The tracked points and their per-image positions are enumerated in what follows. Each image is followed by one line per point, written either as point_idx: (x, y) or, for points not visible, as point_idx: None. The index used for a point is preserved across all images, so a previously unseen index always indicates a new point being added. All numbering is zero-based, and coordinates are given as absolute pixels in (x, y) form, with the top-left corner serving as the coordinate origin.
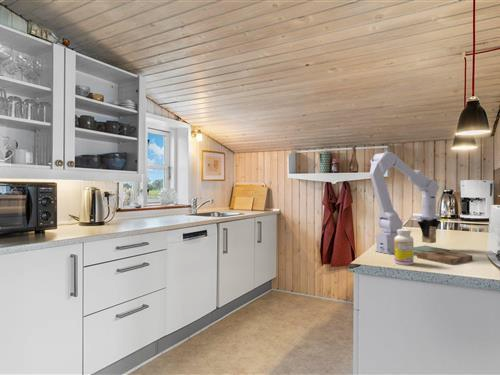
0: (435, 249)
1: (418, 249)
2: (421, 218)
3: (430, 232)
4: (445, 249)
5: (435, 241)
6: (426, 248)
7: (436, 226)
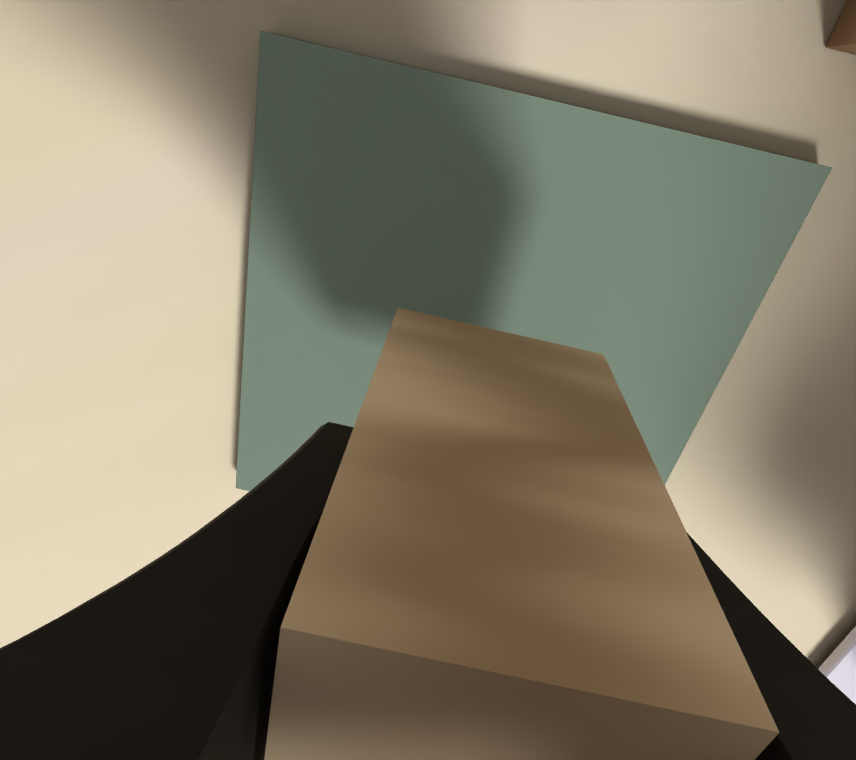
0: (461, 253)
1: (663, 445)
2: None
3: (669, 530)
4: (313, 112)
5: (411, 321)
6: None
7: (188, 639)
